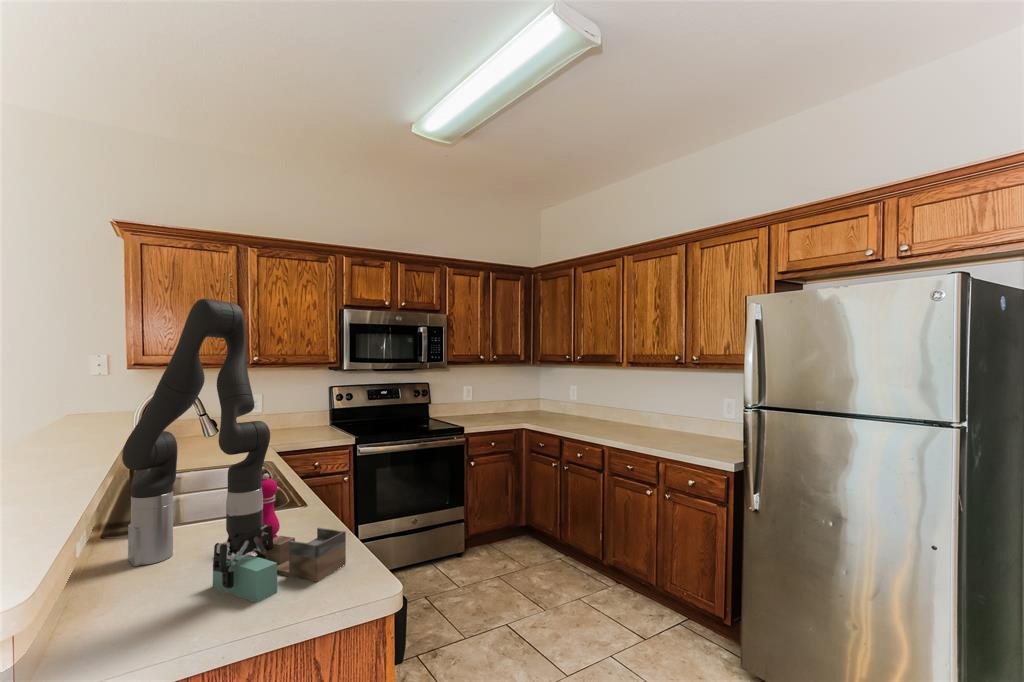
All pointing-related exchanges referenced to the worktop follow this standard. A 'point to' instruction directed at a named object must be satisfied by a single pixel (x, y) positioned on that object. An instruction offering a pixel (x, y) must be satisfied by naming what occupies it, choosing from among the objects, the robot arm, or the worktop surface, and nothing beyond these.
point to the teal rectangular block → (251, 578)
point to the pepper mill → (269, 504)
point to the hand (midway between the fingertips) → (244, 579)
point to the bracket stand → (309, 555)
